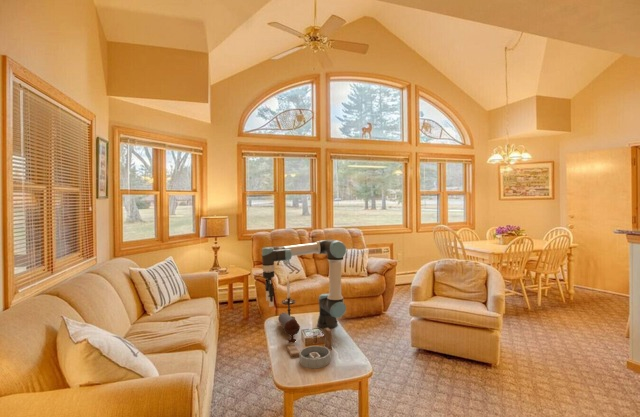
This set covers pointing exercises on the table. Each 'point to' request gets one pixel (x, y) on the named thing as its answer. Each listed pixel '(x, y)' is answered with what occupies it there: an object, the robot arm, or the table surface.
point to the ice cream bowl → (291, 329)
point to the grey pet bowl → (314, 356)
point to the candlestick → (288, 300)
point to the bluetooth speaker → (284, 319)
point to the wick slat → (328, 338)
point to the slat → (293, 351)
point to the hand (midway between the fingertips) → (269, 303)
